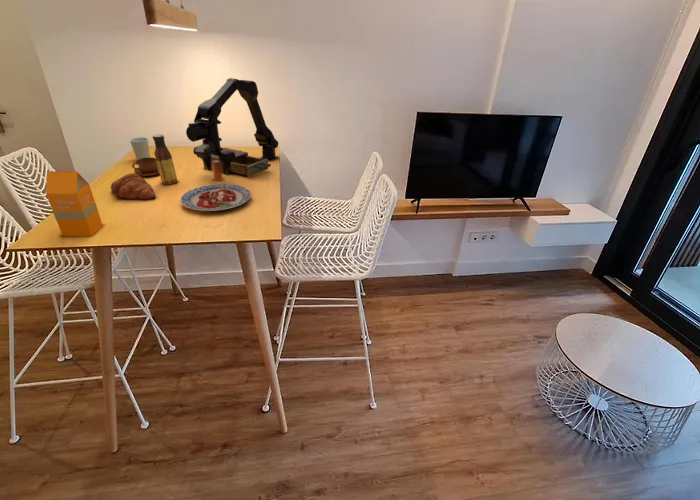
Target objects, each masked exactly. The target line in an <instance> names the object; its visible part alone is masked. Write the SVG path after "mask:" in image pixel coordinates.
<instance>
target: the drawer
mask: <svg viewBox="0 0 700 500" xmlns="http://www.w3.org/2000/svg"><path fill="white" fill-rule="evenodd" d="M270 167H272V164H271V163H269V160H268V159H261V157H255V156H251V155H248V156H246V155H244V156H241V157H239V158H236V159H233V160H232V161H231V163H230V165H229V168H228V170H229V171H231V172H233V173H236V174H240V175H245V176H247V178H251V177H253V176H255V175H256V176H257V175H258V174H261V173H263V172H265V171H268V170H269V168H270Z"/></svg>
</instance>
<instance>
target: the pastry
mask: <svg viewBox="0 0 700 500" xmlns="http://www.w3.org/2000/svg"><path fill="white" fill-rule="evenodd" d="M110 190H111V191H112V193H113V194H115V195H116V197H118V198H119V199H127V200H144V201H145V200H152V199H155V198H156V192H155V191H154V188H153V187H152V185H151V184H150V183H148V181H147V180H146V179H145V177H143V176H141V175H138V174H136V173H135V172H131V173H127V174H125V175H122V176H121V177H119V178H118V179H116V180H114V181H113V182H111V184H110Z"/></svg>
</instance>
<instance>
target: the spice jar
mask: <svg viewBox="0 0 700 500" xmlns="http://www.w3.org/2000/svg"><path fill="white" fill-rule="evenodd" d="M212 168H213V171H212V174H213V179H214V181H222V180H223V173H221V166H220V162H219V161H218V160H214V161H212Z"/></svg>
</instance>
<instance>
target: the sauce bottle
mask: <svg viewBox="0 0 700 500" xmlns="http://www.w3.org/2000/svg"><path fill="white" fill-rule="evenodd" d="M152 140H153V141H154V146H155V149H154V158H155V159H156V162H157V166H158V170H159V177H160V181H161V182H162V184H163V185H174V184H176V183H177V182H178V175H177V172H176V168H175V164H174V159H173V156H172V154H171V151H170V150H169V149H168V147H167V144H166V142H165V137H164V134H160V133H159V134H158V133H157V134H153V135H152Z"/></svg>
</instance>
